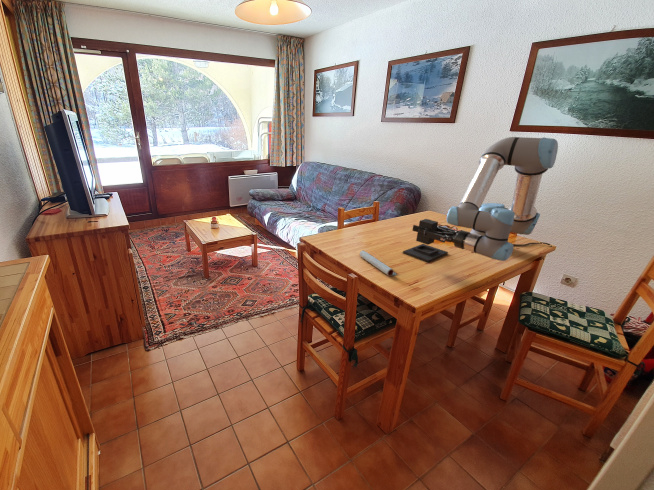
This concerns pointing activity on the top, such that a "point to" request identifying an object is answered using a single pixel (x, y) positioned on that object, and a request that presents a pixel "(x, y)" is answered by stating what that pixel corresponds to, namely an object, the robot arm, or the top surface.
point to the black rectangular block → (431, 226)
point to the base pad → (425, 252)
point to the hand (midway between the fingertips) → (416, 226)
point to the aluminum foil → (377, 263)
